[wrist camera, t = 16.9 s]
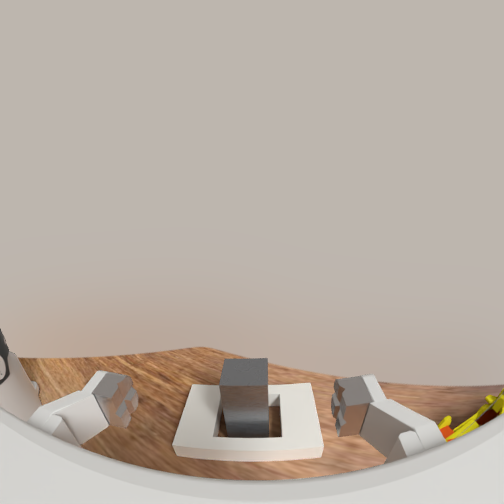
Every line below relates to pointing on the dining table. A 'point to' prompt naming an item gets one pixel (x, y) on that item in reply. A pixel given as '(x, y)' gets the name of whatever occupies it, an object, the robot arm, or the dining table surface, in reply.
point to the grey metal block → (245, 397)
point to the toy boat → (474, 418)
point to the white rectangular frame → (250, 449)
